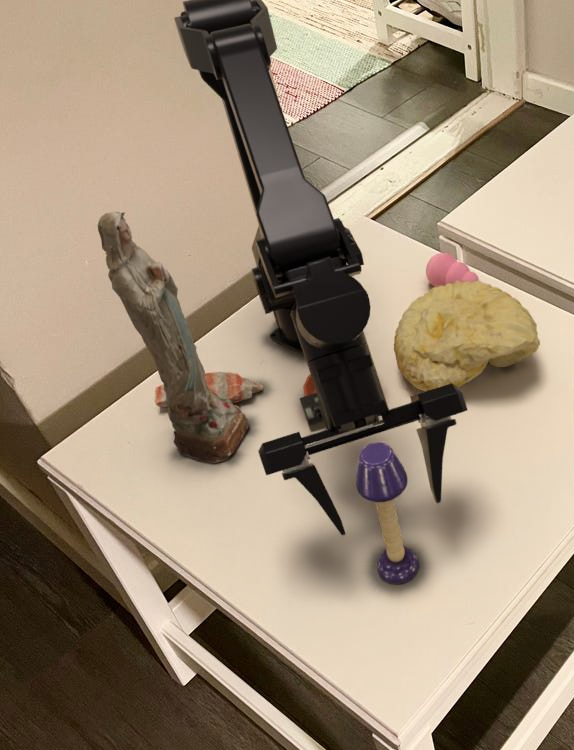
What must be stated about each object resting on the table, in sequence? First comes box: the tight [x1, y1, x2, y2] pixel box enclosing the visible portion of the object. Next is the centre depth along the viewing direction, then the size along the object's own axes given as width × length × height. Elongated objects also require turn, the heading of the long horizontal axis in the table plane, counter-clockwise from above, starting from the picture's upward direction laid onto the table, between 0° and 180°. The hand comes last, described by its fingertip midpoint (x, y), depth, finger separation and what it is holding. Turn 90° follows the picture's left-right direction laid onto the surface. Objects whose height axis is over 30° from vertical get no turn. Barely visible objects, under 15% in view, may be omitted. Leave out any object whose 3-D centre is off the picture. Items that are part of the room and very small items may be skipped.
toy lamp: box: [355, 441, 420, 585], centre depth 84 cm, size 5×5×17 cm
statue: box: [97, 211, 250, 464], centre depth 91 cm, size 8×7×30 cm
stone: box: [154, 371, 264, 407], centre depth 106 cm, size 12×2×5 cm
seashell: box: [393, 279, 541, 392], centre depth 104 cm, size 17×11×15 cm
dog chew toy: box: [425, 252, 480, 287], centre depth 116 cm, size 4×4×7 cm
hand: (391, 518), depth 83 cm, fingers open, 9 cm apart
